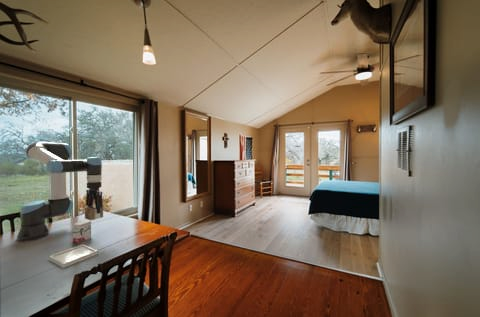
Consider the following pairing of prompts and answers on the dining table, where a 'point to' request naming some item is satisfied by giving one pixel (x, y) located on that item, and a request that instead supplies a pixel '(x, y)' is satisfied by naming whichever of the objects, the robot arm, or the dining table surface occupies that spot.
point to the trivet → (73, 255)
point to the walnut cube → (92, 212)
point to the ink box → (81, 231)
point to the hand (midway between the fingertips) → (94, 217)
